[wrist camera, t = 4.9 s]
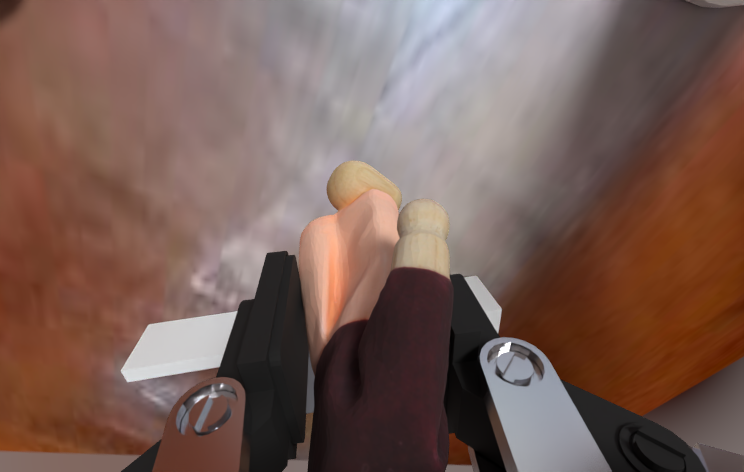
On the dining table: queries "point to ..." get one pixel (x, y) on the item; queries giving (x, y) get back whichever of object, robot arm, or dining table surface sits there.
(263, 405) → the robot arm
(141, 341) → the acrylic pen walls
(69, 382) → the dining table surface
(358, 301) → the grandmother figurine
